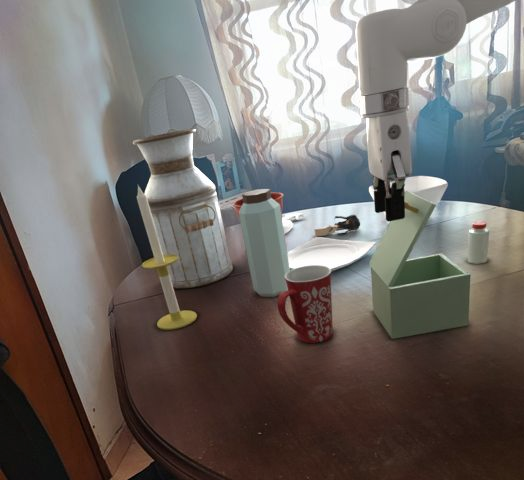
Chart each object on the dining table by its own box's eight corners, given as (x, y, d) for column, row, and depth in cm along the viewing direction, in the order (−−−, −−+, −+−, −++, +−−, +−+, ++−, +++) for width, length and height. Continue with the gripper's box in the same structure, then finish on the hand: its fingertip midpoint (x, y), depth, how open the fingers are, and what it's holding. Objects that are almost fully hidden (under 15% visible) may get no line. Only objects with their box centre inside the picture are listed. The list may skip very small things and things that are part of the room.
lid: (409, 191, 88) (385, 181, 87) (436, 205, 76) (409, 193, 75) (372, 264, 95) (349, 256, 93) (391, 287, 83) (366, 278, 82)
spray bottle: (255, 238, 167) (282, 219, 186) (283, 237, 162) (308, 218, 181) (254, 230, 166) (281, 212, 184) (282, 228, 161) (307, 210, 179)
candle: (188, 307, 120) (153, 177, 104) (203, 319, 111) (166, 180, 96) (152, 321, 116) (110, 188, 101) (164, 334, 108) (120, 191, 93)
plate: (264, 270, 135) (262, 261, 134) (316, 243, 149) (315, 235, 148) (331, 281, 119) (330, 271, 118) (383, 250, 133) (382, 241, 131)
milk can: (247, 272, 136) (218, 125, 117) (180, 296, 128) (138, 142, 109) (214, 257, 155) (184, 128, 136) (154, 276, 148) (114, 143, 129)
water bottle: (293, 294, 115) (278, 192, 103) (254, 301, 116) (234, 200, 104) (291, 280, 124) (276, 184, 112) (254, 286, 125) (236, 191, 113)
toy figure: (318, 241, 151) (363, 230, 151) (315, 222, 149) (360, 211, 149) (315, 238, 158) (358, 228, 158) (311, 220, 156) (355, 209, 155)
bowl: (363, 221, 163) (361, 187, 157) (422, 207, 164) (422, 173, 159) (389, 235, 143) (388, 197, 138) (456, 220, 145) (457, 182, 140)
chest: (440, 299, 99) (441, 253, 94) (468, 325, 88) (470, 274, 83) (373, 311, 100) (370, 266, 95) (392, 339, 88) (389, 289, 83)
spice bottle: (484, 256, 116) (486, 219, 111) (489, 262, 112) (492, 224, 108) (465, 258, 117) (467, 222, 112) (470, 264, 113) (472, 226, 108)
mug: (315, 320, 100) (308, 261, 94) (346, 331, 94) (340, 268, 87) (271, 344, 94) (260, 283, 88) (301, 357, 88) (291, 292, 81)
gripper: (427, 99, 67) (428, 222, 76) (390, 99, 82) (394, 202, 91) (376, 109, 67) (382, 231, 76) (349, 108, 82) (357, 209, 91)
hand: (389, 214), depth 83 cm, fingers closed on lid, 6 cm apart
